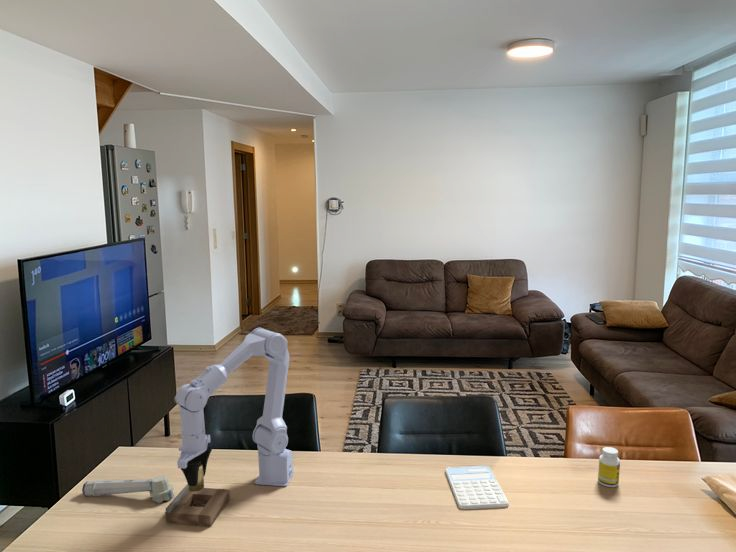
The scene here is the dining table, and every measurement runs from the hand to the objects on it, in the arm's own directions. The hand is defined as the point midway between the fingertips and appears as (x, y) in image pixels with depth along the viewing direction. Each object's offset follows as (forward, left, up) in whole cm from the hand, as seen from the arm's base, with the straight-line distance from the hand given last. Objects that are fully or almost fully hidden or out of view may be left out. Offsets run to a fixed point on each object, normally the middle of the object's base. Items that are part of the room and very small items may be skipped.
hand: (196, 480), depth 143 cm
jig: (0, 0, -9) cm, 9 cm away
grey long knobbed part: (+22, -4, -9) cm, 24 cm away
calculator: (-72, -20, -9) cm, 75 cm away
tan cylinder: (0, 0, -2) cm, 2 cm away
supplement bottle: (-109, -27, -9) cm, 113 cm away
